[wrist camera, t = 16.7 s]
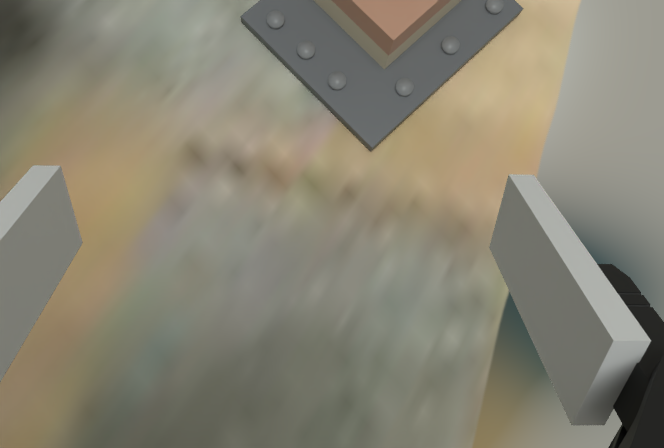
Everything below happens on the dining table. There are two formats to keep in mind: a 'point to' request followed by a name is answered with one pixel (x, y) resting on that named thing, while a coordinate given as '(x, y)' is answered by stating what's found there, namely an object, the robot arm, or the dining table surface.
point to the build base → (362, 71)
